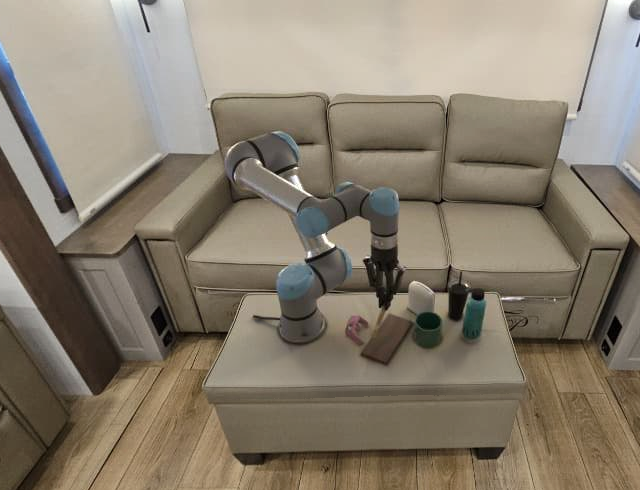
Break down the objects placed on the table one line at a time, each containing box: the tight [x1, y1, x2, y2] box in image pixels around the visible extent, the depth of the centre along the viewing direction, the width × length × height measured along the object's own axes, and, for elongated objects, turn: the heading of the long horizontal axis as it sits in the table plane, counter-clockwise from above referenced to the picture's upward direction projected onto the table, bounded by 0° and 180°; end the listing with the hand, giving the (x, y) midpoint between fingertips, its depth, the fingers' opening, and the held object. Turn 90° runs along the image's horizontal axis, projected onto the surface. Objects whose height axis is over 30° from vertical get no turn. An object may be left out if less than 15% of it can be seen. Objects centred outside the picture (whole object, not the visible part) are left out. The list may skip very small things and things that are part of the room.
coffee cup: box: [413, 311, 443, 348], centre depth 140 cm, size 9×9×8 cm
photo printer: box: [407, 280, 436, 316], centre depth 149 cm, size 10×4×12 cm, turn 46°
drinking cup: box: [447, 270, 472, 321], centre depth 145 cm, size 8×8×20 cm
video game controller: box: [344, 313, 369, 345], centre depth 142 cm, size 10×5×7 cm, turn 168°
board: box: [360, 313, 413, 365], centre depth 142 cm, size 9×20×1 cm, turn 155°
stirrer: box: [370, 302, 387, 338], centre depth 130 cm, size 1×13×13 cm
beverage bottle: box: [461, 287, 487, 341], centre depth 138 cm, size 6×7×20 cm
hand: (384, 306), depth 130 cm, fingers closed on stirrer
